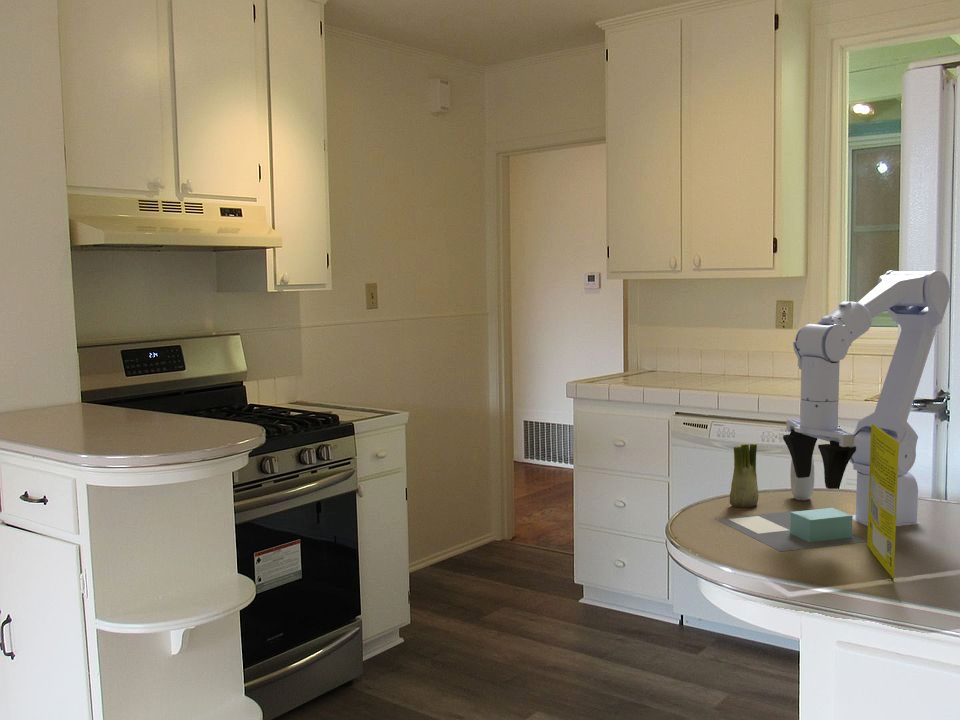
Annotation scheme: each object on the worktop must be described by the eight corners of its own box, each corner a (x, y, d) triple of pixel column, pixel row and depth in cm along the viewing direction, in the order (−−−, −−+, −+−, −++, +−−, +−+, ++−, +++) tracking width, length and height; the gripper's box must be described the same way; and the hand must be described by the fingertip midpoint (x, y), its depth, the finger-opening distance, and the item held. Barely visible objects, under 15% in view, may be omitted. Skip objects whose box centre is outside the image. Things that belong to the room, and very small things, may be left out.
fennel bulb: (753, 503, 171) (754, 440, 170) (765, 510, 166) (766, 445, 165) (723, 505, 170) (724, 441, 169) (734, 512, 165) (735, 446, 164)
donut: (815, 508, 167) (816, 454, 166) (795, 507, 168) (796, 453, 167) (807, 494, 177) (808, 443, 176) (788, 493, 178) (789, 443, 177)
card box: (831, 528, 152) (832, 507, 152) (851, 537, 147) (852, 515, 147) (790, 533, 150) (790, 512, 150) (809, 542, 145) (810, 520, 145)
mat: (794, 514, 164) (794, 510, 163) (867, 544, 145) (867, 540, 145) (714, 522, 159) (714, 518, 159) (780, 555, 141) (780, 551, 141)
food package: (897, 583, 128) (902, 442, 126) (889, 582, 128) (894, 442, 126) (870, 549, 143) (875, 423, 141) (863, 549, 143) (867, 423, 141)
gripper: (771, 394, 152) (769, 474, 154) (827, 407, 138) (825, 495, 140) (807, 392, 154) (805, 471, 156) (866, 404, 140) (864, 491, 142)
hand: (817, 482), depth 148 cm, fingers open, 7 cm apart
